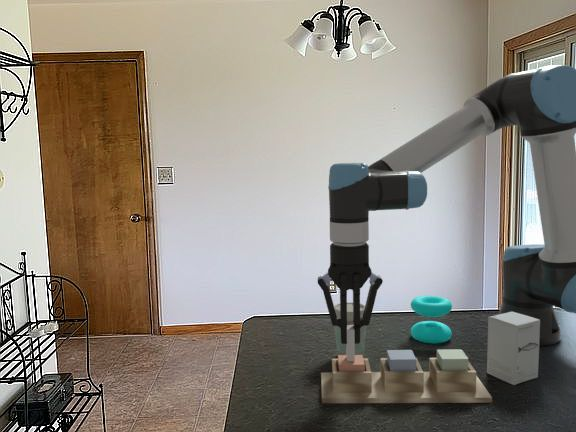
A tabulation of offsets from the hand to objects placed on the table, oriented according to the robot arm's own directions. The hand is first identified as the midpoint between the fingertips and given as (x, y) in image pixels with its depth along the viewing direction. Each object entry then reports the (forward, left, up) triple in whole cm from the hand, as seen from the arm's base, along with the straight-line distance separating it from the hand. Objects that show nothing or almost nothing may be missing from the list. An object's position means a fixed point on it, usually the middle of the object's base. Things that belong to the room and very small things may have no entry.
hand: (350, 358), depth 110 cm
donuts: (-22, -29, -7) cm, 37 cm away
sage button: (-20, 0, -3) cm, 20 cm away
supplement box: (-34, -6, -7) cm, 35 cm away
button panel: (-10, 0, -7) cm, 12 cm away
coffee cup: (-1, -17, -7) cm, 18 cm away
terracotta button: (0, 0, -4) cm, 4 cm away
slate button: (-10, 0, -3) cm, 11 cm away
